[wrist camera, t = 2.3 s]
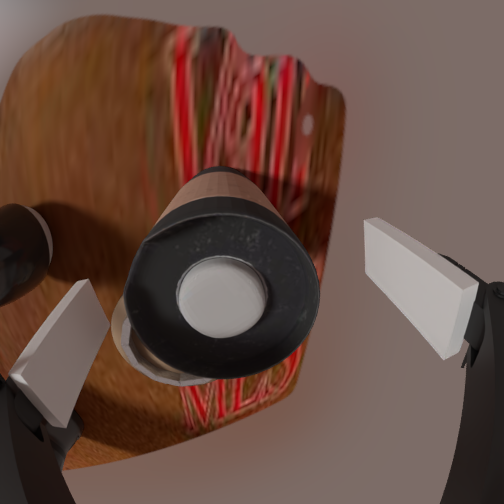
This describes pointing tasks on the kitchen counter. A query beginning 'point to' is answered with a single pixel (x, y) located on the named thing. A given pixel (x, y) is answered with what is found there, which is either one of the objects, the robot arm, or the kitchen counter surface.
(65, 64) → the kitchen counter surface
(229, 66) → the kitchen counter surface
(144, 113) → the kitchen counter surface
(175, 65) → the kitchen counter surface
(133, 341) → the carrier plate
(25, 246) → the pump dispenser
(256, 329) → the travel mug
